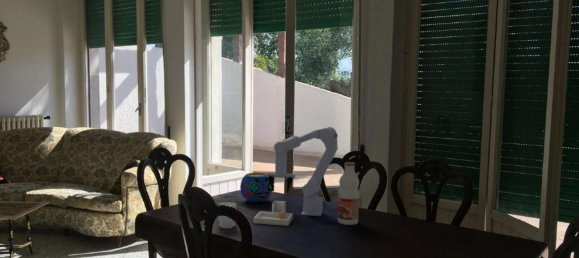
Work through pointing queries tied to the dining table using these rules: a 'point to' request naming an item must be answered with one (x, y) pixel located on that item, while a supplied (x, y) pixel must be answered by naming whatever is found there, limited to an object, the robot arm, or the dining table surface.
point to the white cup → (226, 221)
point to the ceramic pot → (255, 187)
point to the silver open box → (279, 206)
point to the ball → (281, 214)
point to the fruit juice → (348, 196)
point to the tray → (273, 218)
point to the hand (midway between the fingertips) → (280, 191)
